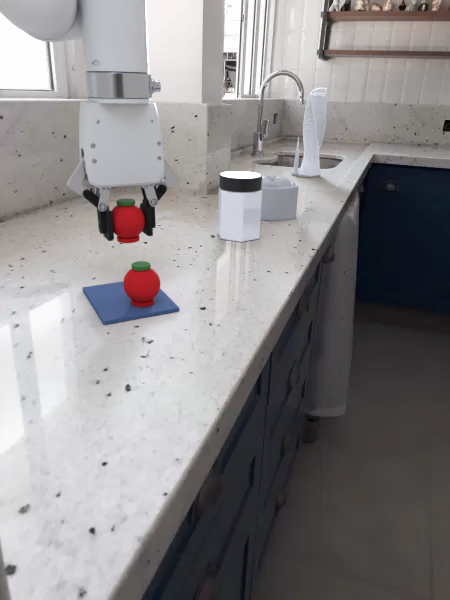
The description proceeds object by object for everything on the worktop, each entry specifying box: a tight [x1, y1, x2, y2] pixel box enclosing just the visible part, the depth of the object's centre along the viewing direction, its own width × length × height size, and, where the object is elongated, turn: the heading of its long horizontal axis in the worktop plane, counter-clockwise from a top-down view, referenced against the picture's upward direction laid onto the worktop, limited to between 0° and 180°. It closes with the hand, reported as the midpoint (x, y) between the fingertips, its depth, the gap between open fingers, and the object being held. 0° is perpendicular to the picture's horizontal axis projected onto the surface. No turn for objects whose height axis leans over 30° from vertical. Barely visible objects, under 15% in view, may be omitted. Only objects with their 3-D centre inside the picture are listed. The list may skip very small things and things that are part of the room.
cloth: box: [82, 280, 180, 326], centre depth 66 cm, size 10×12×1 cm
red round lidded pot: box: [123, 260, 161, 307], centre depth 63 cm, size 5×5×5 cm
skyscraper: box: [291, 86, 328, 179], centre depth 161 cm, size 8×8×28 cm
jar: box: [217, 170, 263, 243], centre depth 94 cm, size 9×8×12 cm
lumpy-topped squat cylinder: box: [261, 174, 299, 221], centre depth 111 cm, size 10×13×9 cm
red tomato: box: [111, 198, 145, 244], centre depth 65 cm, size 5×5×5 cm
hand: (128, 234), depth 66 cm, fingers closed on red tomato, 4 cm apart
